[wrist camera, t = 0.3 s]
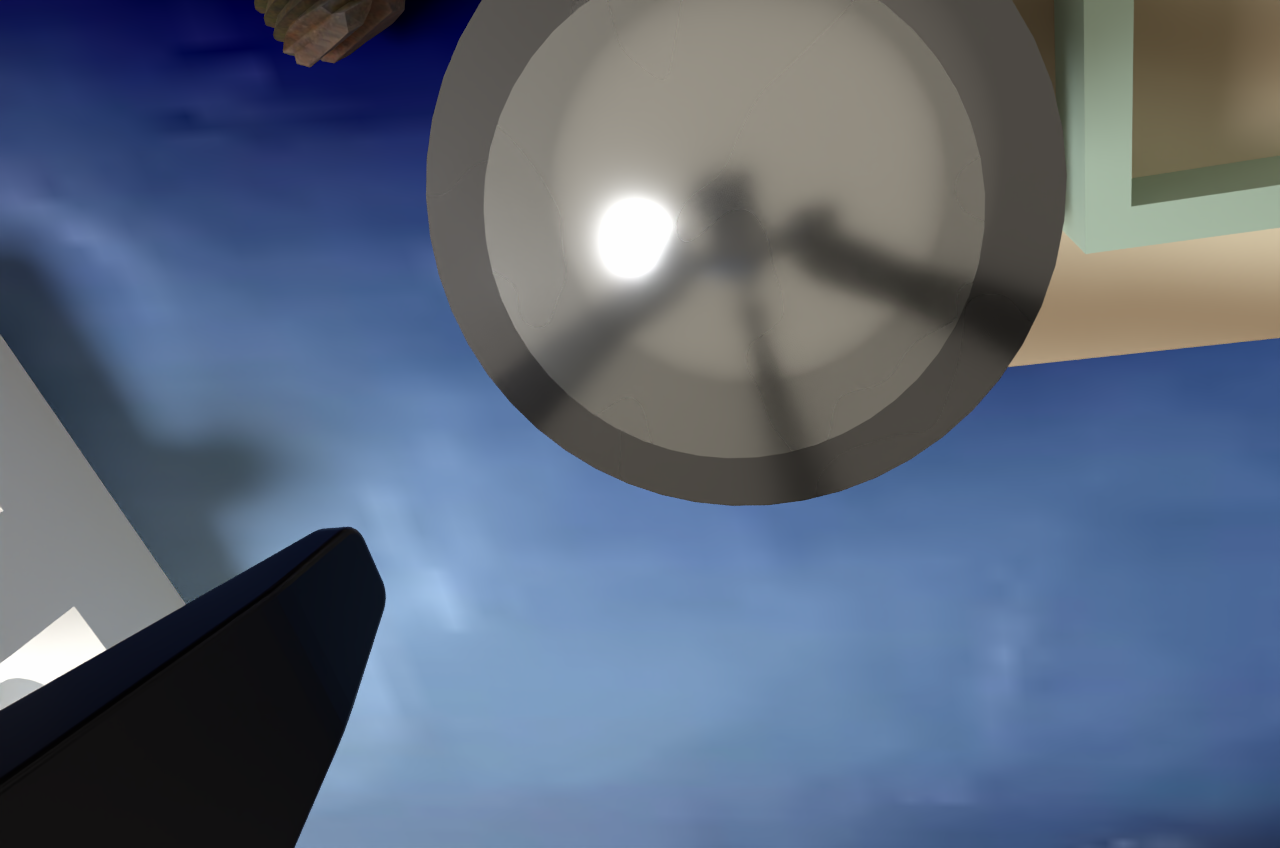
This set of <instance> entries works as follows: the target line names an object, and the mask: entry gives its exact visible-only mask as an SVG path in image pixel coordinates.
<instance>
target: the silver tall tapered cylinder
mask: <svg viewBox="0 0 1280 848" xmlns="http://www.w3.org/2000/svg"><path fill="white" fill-rule="evenodd" d="M1066 180H1067V172H1066V161H1065V149H1064V138H1063V128H1062V124H1061V119H1060V115H1059V111H1058V107H1057V102H1056V98H1055V94H1054V90H1053V85H1052V82H1051V79H1050V77H1049V74H1048V72H1047V69H1046V67H1045V64H1044V62H1043V59H1042V57H1041V54H1040V52H1039V49H1038V47H1037V44H1036V42H1035V39H1034V37H1033V35H1032V34H1031V32H1030V30H1029V28H1028V27H1027V25H1026V23H1025V22H1024V20H1023V18H1022V16H1021V15H1020V13H1019V11H1018V10H1017V8H1016V6H1015V4H1014V3H1013V1H1012V0H482V1H481V3H480V4H479V6H478V8H477V10H476V11H475V13H474V15H473V17H472V18H471V20H470V22H469V23H468V25H467V27H466V29H465V30H464V32H463V34H462V36H461V37H460V39H459V42H458V44H457V46H456V49H455V51H454V54H453V56H452V58H451V61H450V63H449V66H448V68H447V71H446V73H445V75H444V78H443V81H442V85H441V89H440V92H439V96H438V100H437V103H436V107H435V111H434V115H433V118H432V125H431V133H430V140H429V147H428V154H427V184H426V201H427V210H428V219H429V229H430V238H431V242H432V247H433V251H434V255H435V260H436V264H437V268H438V273H439V276H440V279H441V282H442V285H443V288H444V290H445V293H446V296H447V299H448V302H449V304H450V307H451V310H452V312H453V314H454V316H455V318H456V320H457V322H458V324H459V326H460V328H461V331H462V333H463V335H464V337H465V339H466V341H467V343H468V345H469V346H470V348H471V349H472V351H473V352H474V354H475V355H476V357H477V359H478V360H479V362H480V363H481V365H482V366H483V368H484V369H485V371H486V372H487V374H488V375H489V377H490V378H491V379H492V380H493V382H494V383H495V384H496V385H497V386H498V388H499V389H500V390H501V391H502V393H503V394H504V395H505V396H506V397H507V399H508V400H509V401H510V402H511V403H512V404H513V405H514V406H515V407H516V408H517V409H518V410H519V411H520V412H521V413H522V414H523V415H524V416H525V417H526V418H527V419H528V420H529V421H530V422H531V423H532V424H533V425H534V426H535V427H536V428H537V429H539V430H540V431H541V432H543V433H544V434H545V435H546V436H548V437H549V438H550V439H552V440H553V441H554V442H555V443H557V444H558V445H559V446H561V447H562V448H563V449H565V450H566V451H568V452H569V453H571V454H573V455H574V456H576V457H578V458H579V459H581V460H582V461H584V462H586V463H587V464H589V465H591V466H592V467H594V468H596V469H598V470H600V471H602V472H604V473H606V474H609V475H611V476H613V477H615V478H617V479H619V480H621V481H624V482H626V483H628V484H631V485H634V486H637V487H640V488H643V489H646V490H649V491H652V492H655V493H658V494H661V495H665V496H670V497H675V498H679V499H684V500H689V501H693V502H700V503H710V504H720V505H731V506H741V505H772V504H780V503H787V502H795V501H802V500H808V499H811V498H815V497H819V496H823V495H827V494H831V493H835V492H839V491H842V490H845V489H848V488H850V487H853V486H855V485H858V484H861V483H863V482H866V481H868V480H871V479H874V478H876V477H878V476H880V475H882V474H884V473H886V472H888V471H890V470H891V469H893V468H895V467H897V466H899V465H901V464H903V463H905V462H907V461H908V460H910V459H912V458H913V457H915V456H916V455H918V454H919V453H920V452H922V451H923V450H925V449H926V448H928V447H929V446H931V445H932V444H933V443H935V442H936V441H938V440H939V439H941V438H942V437H943V436H944V435H946V434H947V433H948V432H949V431H950V430H951V429H952V428H953V427H955V426H956V425H957V424H958V423H959V422H960V421H961V420H962V419H963V418H965V417H966V416H967V415H968V414H969V413H970V412H971V411H972V410H973V409H974V408H975V407H976V406H977V405H978V404H979V402H980V401H981V400H982V399H983V398H984V397H985V396H986V394H987V393H988V392H989V391H990V390H991V389H992V387H993V386H994V385H995V384H996V383H997V382H998V381H999V379H1000V378H1001V376H1002V375H1003V373H1004V372H1005V370H1006V369H1007V367H1008V366H1009V364H1010V363H1011V361H1012V360H1013V358H1014V357H1015V355H1016V354H1017V352H1018V351H1019V350H1020V348H1021V347H1022V345H1023V343H1024V341H1025V339H1026V337H1027V335H1028V333H1029V331H1030V329H1031V327H1032V325H1033V323H1034V321H1035V319H1036V317H1037V315H1038V313H1039V311H1040V309H1041V307H1042V304H1043V301H1044V298H1045V295H1046V292H1047V289H1048V286H1049V283H1050V280H1051V277H1052V275H1053V272H1054V269H1055V266H1056V261H1057V256H1058V251H1059V246H1060V241H1061V235H1062V230H1063V225H1064V217H1065V199H1066Z"/></svg>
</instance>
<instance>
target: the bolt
mask: <svg viewBox="0 0 1280 848" xmlns="http://www.w3.org/2000/svg"><path fill="white" fill-rule="evenodd" d="M254 4H255V9H256V10H257V11H259V12H260V13H265V15H264V20H265V24H266V25H267V26H270V27H273V28H275V29H274V34H273V35H274V38H275V39H276V40H277V41H281V42H284V47H283V53H285V54H288V55H293V56H295V58H296V63H297V64H300V65H304V66H307V67H311V66H312V65H314V64H315V63H316V62H317V61H319V60H320V59H321V60H322V61H326V62H331V63H335V62H337V61H339V60H341V59H343V58H344V57H346V56H348V55H350V54H351V53H353V52H354V51H355V50H356V49H358V48H359V47H360V46H362V45H363V44H364V43H365V42H367V41H368V40H370V39H371V38H373V37H374V36H376V35H377V34H379V33H380V32H382V31H383V30H384V29H386V28H387V27H389V26H390V25H391V24H393V23H394V22H395V20H396V19H397V18H398V17H399V16H400V15H401V14H402V12H403V11H404V10H405V0H255V2H254Z"/></svg>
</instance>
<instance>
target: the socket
mask: <svg viewBox="0 0 1280 848" xmlns="http://www.w3.org/2000/svg"><path fill="white" fill-rule="evenodd" d="M1133 26H1134V0H1054V28H1055V81H1056V102H1057V107H1058V111H1059V115H1060V119H1061V124H1062V128H1063V138H1064V149H1065V161H1066V172H1067V180H1066V199H1065V217H1064V225H1063V230H1062V231H1063V232H1064V233H1065V234H1066V235H1067V236H1068V237H1069V238H1070V239H1071V240H1072V241H1073V242H1074V243H1075V244H1076V245H1077V246H1078V247H1079V248H1080V249H1081V250H1082V251H1083V252H1084V253H1085V254H1090V253H1097V252H1104V251H1112V250H1119V249H1126V248H1134V247H1141V246H1149V245H1156V244H1163V243H1171V242H1178V241H1185V240H1193V239H1200V238H1207V237H1215V236H1222V235H1230V234H1237V233H1244V232H1252V231H1259V230H1266V229H1274V228H1280V155H1279V156H1273V157H1267V158H1260V159H1254V160H1247V161H1241V162H1234V163H1228V164H1221V165H1215V166H1208V167H1202V168H1195V169H1189V170H1182V171H1176V172H1170V173H1163V174H1157V175H1150V176H1144V177H1137V178H1132V107H1133Z"/></svg>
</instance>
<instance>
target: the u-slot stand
mask: <svg viewBox="0 0 1280 848" xmlns="http://www.w3.org/2000/svg"><path fill="white" fill-rule="evenodd" d="M184 605H186V604H185V602H184V601H183V600H182V598H181V597H180V595H179V594H178V592H177V591H176V589H175V588H174V586H173V585H172V583H171V582H170V581H169V579H168V578H167V576H166V575H165V573H164V572H163V570H162V569H161V567H160V566H159V565H158V563H157V562H156V560H155V559H154V557H153V556H152V554H151V553H150V551H149V550H148V549H147V547H146V546H145V544H144V543H143V541H142V540H141V538H140V537H139V535H138V534H137V533H136V531H135V530H134V528H133V527H132V525H131V524H130V522H129V521H128V519H127V518H126V517H125V515H124V514H123V512H122V511H121V509H120V508H119V506H118V505H117V503H116V502H115V501H114V499H113V498H112V496H111V495H110V493H109V492H108V490H107V489H106V487H105V486H104V485H103V483H102V482H101V480H100V479H99V477H98V476H97V474H96V473H95V471H94V470H93V469H92V467H91V466H90V464H89V463H88V461H87V460H86V458H85V457H84V455H83V454H82V452H81V451H80V450H79V448H78V447H77V445H76V444H75V442H74V441H73V439H72V438H71V436H70V435H69V434H68V432H67V431H66V429H65V428H64V426H63V425H62V423H61V422H60V420H59V419H58V418H57V416H56V415H55V413H54V412H53V410H52V409H51V407H50V406H49V404H48V403H47V402H46V400H45V399H44V397H43V396H42V394H41V393H40V391H39V390H38V388H37V387H36V386H35V384H34V383H33V381H32V380H31V378H30V377H29V375H28V374H27V372H26V371H25V370H24V368H23V367H22V365H21V364H20V362H19V361H18V359H17V358H16V356H15V355H14V354H13V352H12V351H11V349H10V348H9V346H8V345H7V343H6V342H5V340H4V339H3V338H2V336H1V335H0V710H2V709H3V708H5V707H7V706H9V705H10V704H12V703H14V702H16V701H17V700H19V699H21V698H23V697H24V696H26V695H28V694H30V693H32V692H33V691H35V690H37V689H39V688H40V687H42V686H44V685H46V684H47V683H49V682H51V681H53V680H54V679H56V678H58V677H60V676H61V675H63V674H65V673H67V672H68V671H70V670H72V669H74V668H75V667H77V666H79V665H81V664H82V663H84V662H86V661H88V660H90V659H91V658H93V657H95V656H97V655H98V654H100V653H102V652H104V651H105V650H107V649H109V648H111V647H112V646H114V645H116V644H118V643H119V642H121V641H123V640H125V639H126V638H128V637H130V636H132V635H133V634H135V633H137V632H139V631H140V630H142V629H144V628H146V627H148V626H149V625H151V624H153V623H155V622H156V621H158V620H160V619H162V618H163V617H165V616H167V615H169V614H170V613H172V612H174V611H176V610H177V609H179V608H181V607H183V606H184Z"/></svg>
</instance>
